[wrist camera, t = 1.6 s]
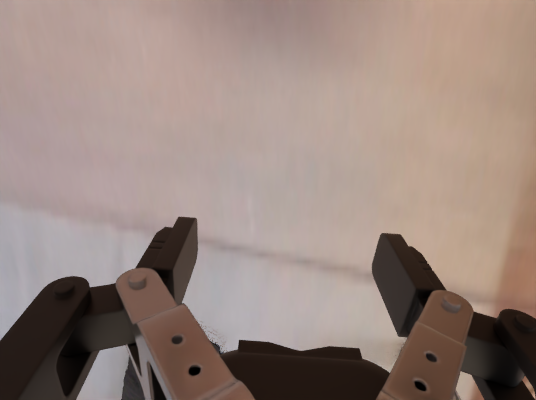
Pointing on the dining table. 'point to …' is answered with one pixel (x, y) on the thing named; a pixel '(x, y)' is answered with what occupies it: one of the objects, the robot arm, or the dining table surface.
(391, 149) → the dining table surface
